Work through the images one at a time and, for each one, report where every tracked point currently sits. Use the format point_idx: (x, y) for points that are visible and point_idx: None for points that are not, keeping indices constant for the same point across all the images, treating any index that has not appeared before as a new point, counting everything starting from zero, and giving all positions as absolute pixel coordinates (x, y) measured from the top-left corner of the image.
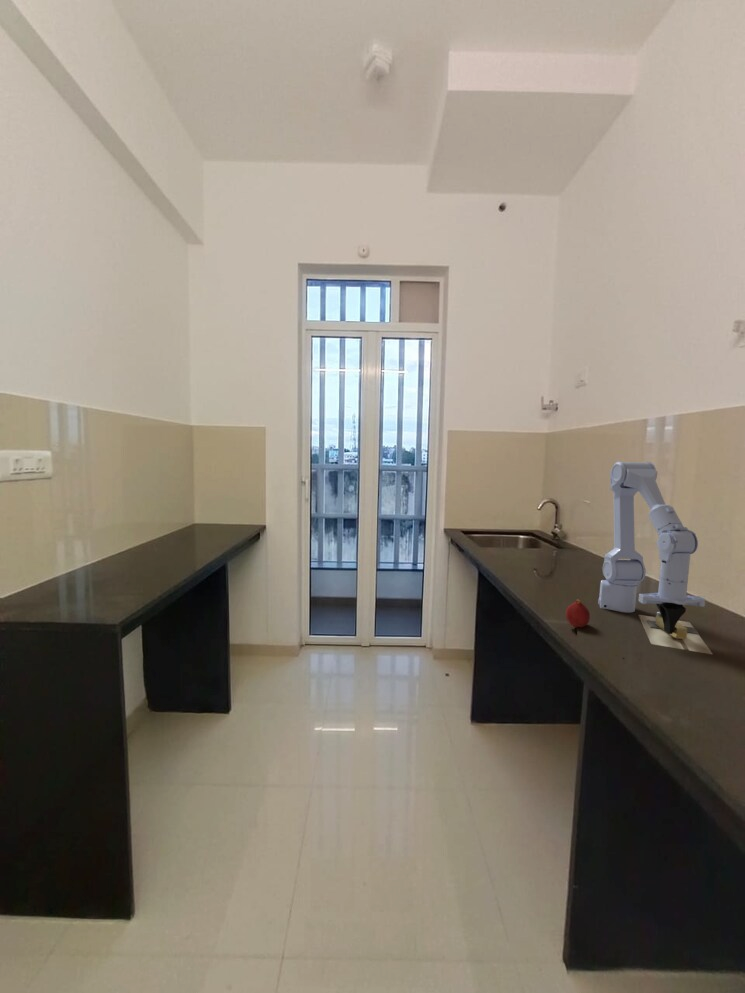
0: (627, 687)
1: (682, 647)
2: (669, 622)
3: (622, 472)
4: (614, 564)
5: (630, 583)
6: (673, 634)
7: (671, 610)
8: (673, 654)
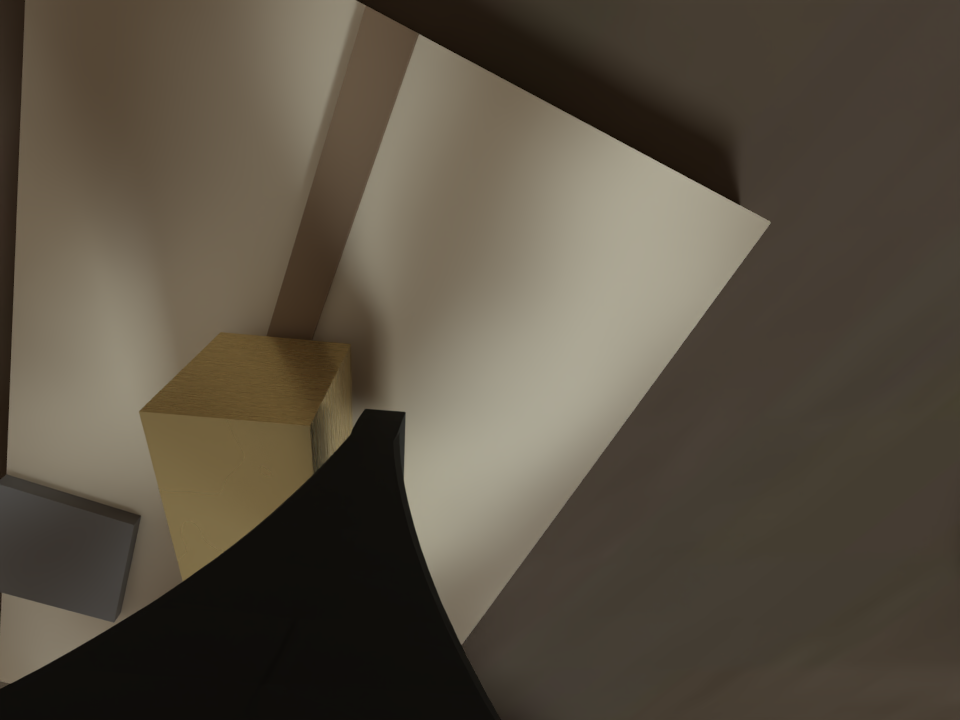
0: None
1: (403, 113)
2: (408, 518)
3: None
4: None
5: None
6: (346, 407)
7: None
8: (570, 42)
